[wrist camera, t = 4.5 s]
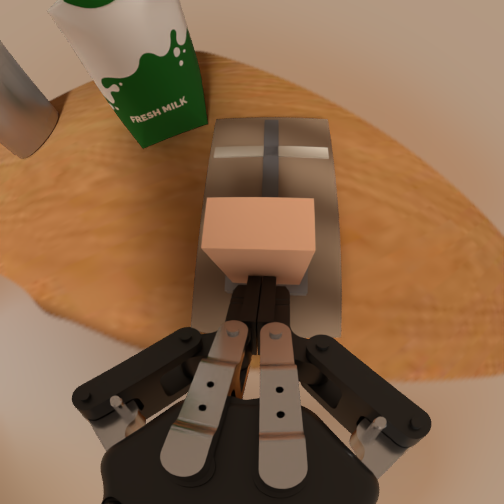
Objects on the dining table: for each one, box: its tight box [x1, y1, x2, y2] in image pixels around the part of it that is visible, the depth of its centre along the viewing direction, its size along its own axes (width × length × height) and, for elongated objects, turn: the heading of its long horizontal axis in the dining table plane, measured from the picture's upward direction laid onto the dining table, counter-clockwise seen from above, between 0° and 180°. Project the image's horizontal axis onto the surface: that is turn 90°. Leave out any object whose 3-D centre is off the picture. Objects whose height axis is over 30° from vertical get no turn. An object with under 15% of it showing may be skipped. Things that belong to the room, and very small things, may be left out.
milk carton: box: [47, 0, 208, 149], centre depth 16 cm, size 9×9×20 cm
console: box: [191, 117, 342, 338], centre depth 20 cm, size 18×10×2 cm, turn 177°
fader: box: [201, 197, 315, 296], centre depth 14 cm, size 3×5×8 cm, turn 87°
